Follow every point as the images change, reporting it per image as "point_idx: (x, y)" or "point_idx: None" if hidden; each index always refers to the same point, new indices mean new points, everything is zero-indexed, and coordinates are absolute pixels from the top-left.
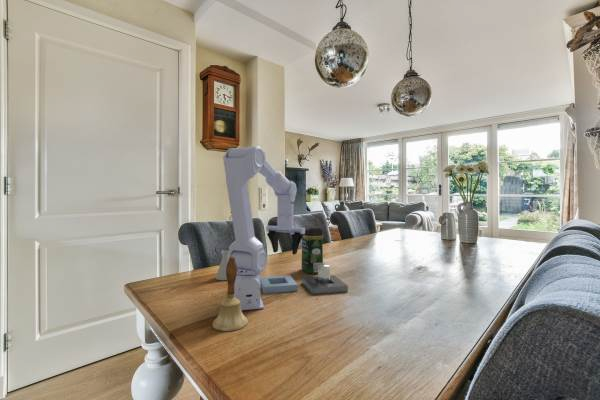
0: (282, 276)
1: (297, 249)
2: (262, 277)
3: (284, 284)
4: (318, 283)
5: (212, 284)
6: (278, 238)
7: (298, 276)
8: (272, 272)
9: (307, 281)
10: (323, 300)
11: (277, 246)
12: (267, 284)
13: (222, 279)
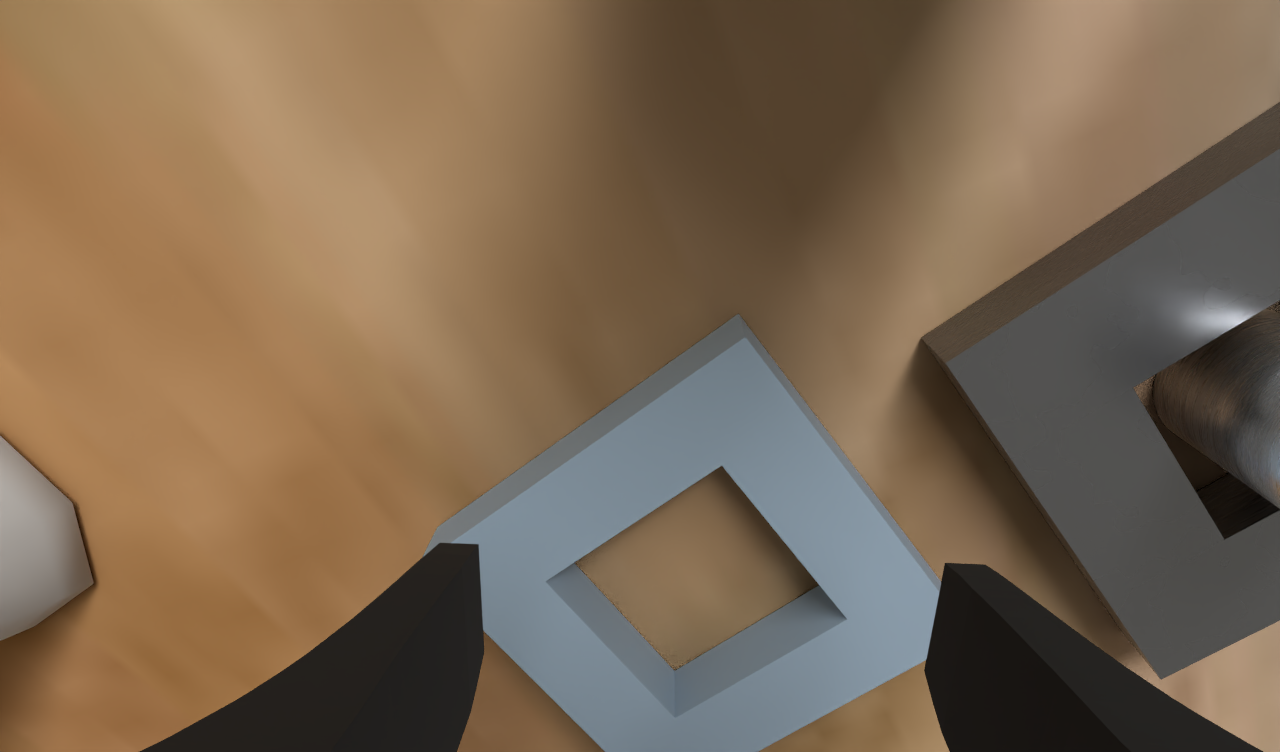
0: (670, 433)
1: (1043, 614)
2: None
3: (825, 679)
4: (1196, 447)
5: (61, 726)
6: (348, 741)
7: (775, 61)
8: (295, 31)
9: (1060, 494)
10: (1250, 710)
11: (442, 627)
12: (651, 733)
13: (31, 627)
